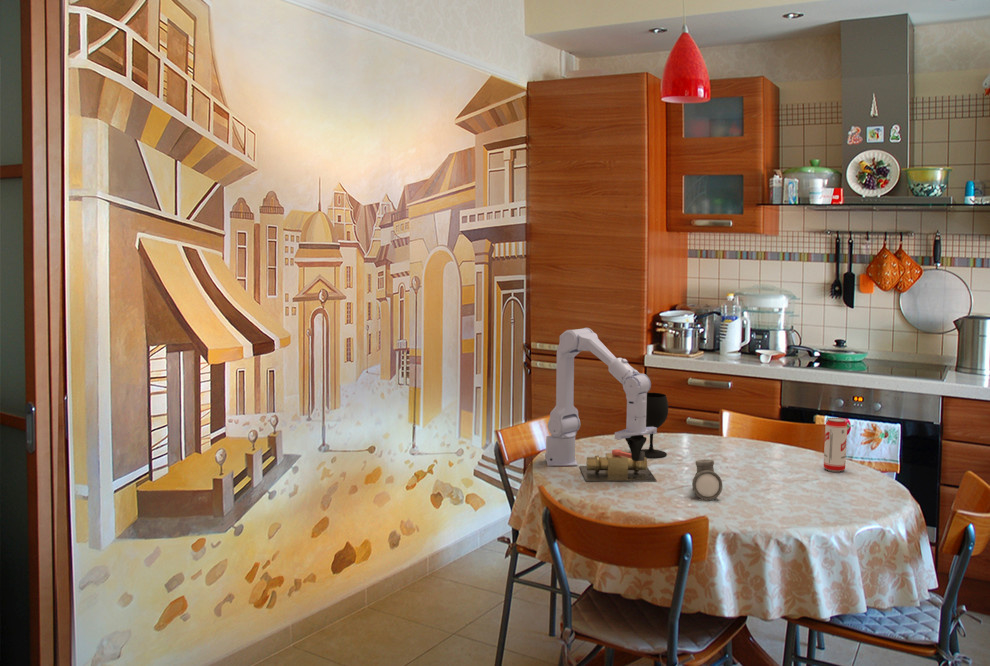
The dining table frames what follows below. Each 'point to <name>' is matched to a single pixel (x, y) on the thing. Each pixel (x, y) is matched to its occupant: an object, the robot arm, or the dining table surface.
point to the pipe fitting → (706, 480)
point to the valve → (616, 469)
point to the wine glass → (655, 420)
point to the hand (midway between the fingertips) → (635, 460)
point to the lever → (628, 454)
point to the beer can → (835, 444)
